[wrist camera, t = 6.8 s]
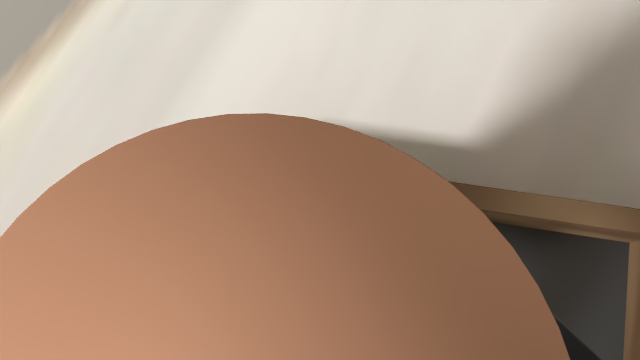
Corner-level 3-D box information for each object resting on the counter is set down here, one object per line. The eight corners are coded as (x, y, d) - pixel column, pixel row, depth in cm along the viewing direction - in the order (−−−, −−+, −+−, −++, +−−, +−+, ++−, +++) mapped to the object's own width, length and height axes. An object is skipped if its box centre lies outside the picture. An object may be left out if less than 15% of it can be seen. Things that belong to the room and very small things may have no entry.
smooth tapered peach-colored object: (462, 364, 13) (752, 566, 3) (299, 477, 13) (99, 1053, 3) (353, 205, 14) (329, 4, 4) (200, 306, 14) (-184, 334, 4)
